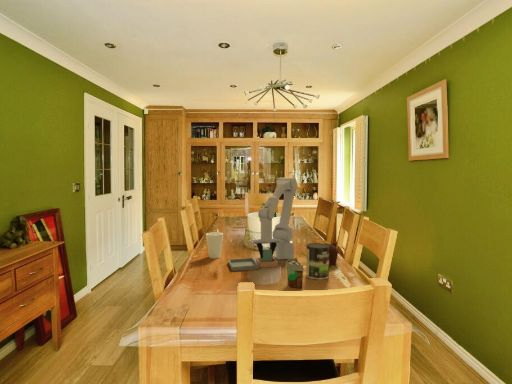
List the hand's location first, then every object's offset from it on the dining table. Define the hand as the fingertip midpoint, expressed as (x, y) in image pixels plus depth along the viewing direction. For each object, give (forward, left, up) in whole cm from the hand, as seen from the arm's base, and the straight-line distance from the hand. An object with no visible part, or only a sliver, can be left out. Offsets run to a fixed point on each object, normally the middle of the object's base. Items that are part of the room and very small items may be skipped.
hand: (266, 257), depth 170 cm
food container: (-3, +32, -4) cm, 32 cm away
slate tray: (+12, 0, -3) cm, 12 cm away
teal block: (0, 0, -3) cm, 3 cm away
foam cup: (+24, -21, -4) cm, 32 cm away
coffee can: (-18, +23, -4) cm, 29 cm away
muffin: (-31, +5, -4) cm, 32 cm away
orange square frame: (0, 0, -3) cm, 3 cm away
